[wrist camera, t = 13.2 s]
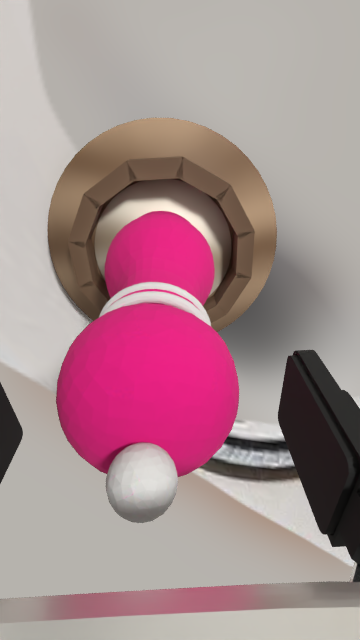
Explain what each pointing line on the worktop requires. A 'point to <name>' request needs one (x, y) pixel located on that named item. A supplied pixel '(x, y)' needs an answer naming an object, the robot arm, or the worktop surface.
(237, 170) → the round tray
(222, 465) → the worktop surface
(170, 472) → the pepper mill
